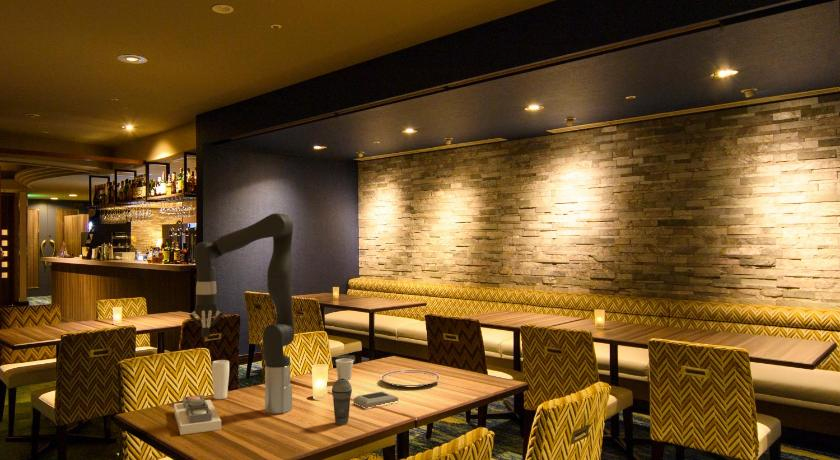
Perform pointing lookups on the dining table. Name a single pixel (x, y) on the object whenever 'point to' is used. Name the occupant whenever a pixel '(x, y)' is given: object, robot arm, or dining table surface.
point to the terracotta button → (193, 398)
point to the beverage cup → (341, 399)
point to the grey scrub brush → (374, 399)
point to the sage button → (199, 412)
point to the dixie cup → (344, 368)
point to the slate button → (196, 403)
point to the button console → (196, 417)
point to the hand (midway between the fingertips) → (205, 337)
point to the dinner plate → (410, 372)
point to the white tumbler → (220, 378)
